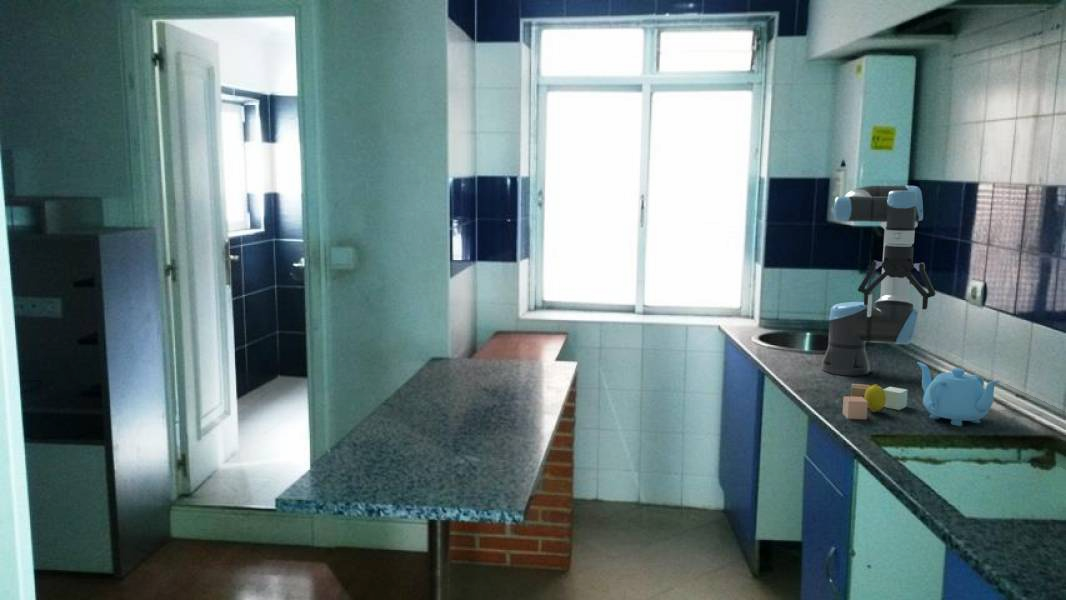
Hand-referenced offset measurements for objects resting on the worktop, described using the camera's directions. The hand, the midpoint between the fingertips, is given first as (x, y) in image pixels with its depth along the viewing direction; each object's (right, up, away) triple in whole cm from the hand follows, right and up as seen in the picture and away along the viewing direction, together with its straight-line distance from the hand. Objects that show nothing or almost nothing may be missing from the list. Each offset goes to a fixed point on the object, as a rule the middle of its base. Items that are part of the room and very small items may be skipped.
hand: (894, 318), depth 230 cm
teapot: (+10, -27, -14) cm, 32 cm away
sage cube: (-1, -25, -2) cm, 25 cm away
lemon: (-9, -26, -8) cm, 29 cm away
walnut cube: (-9, -25, +2) cm, 26 cm away
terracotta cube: (-16, -27, -12) cm, 33 cm away
